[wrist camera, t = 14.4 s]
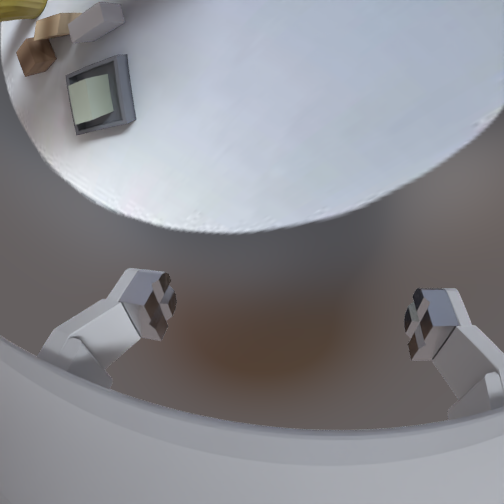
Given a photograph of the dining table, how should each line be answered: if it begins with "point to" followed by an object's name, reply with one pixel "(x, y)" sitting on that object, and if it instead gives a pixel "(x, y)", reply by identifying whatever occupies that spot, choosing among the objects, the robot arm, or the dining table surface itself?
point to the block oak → (54, 26)
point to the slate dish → (118, 89)
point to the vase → (20, 9)
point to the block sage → (90, 98)
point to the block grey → (96, 22)
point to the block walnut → (35, 56)
